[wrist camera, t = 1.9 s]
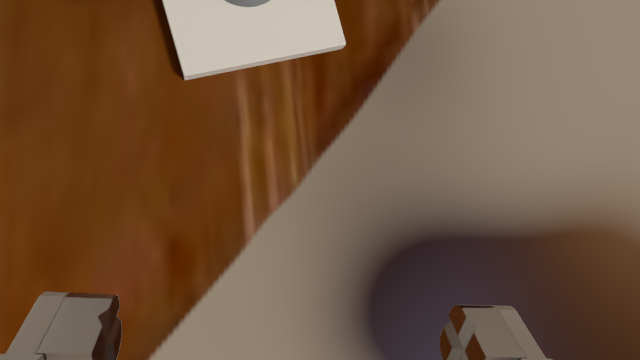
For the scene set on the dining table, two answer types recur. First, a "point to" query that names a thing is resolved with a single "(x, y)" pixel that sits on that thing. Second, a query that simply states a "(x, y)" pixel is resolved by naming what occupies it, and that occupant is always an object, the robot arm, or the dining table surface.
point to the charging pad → (249, 32)
